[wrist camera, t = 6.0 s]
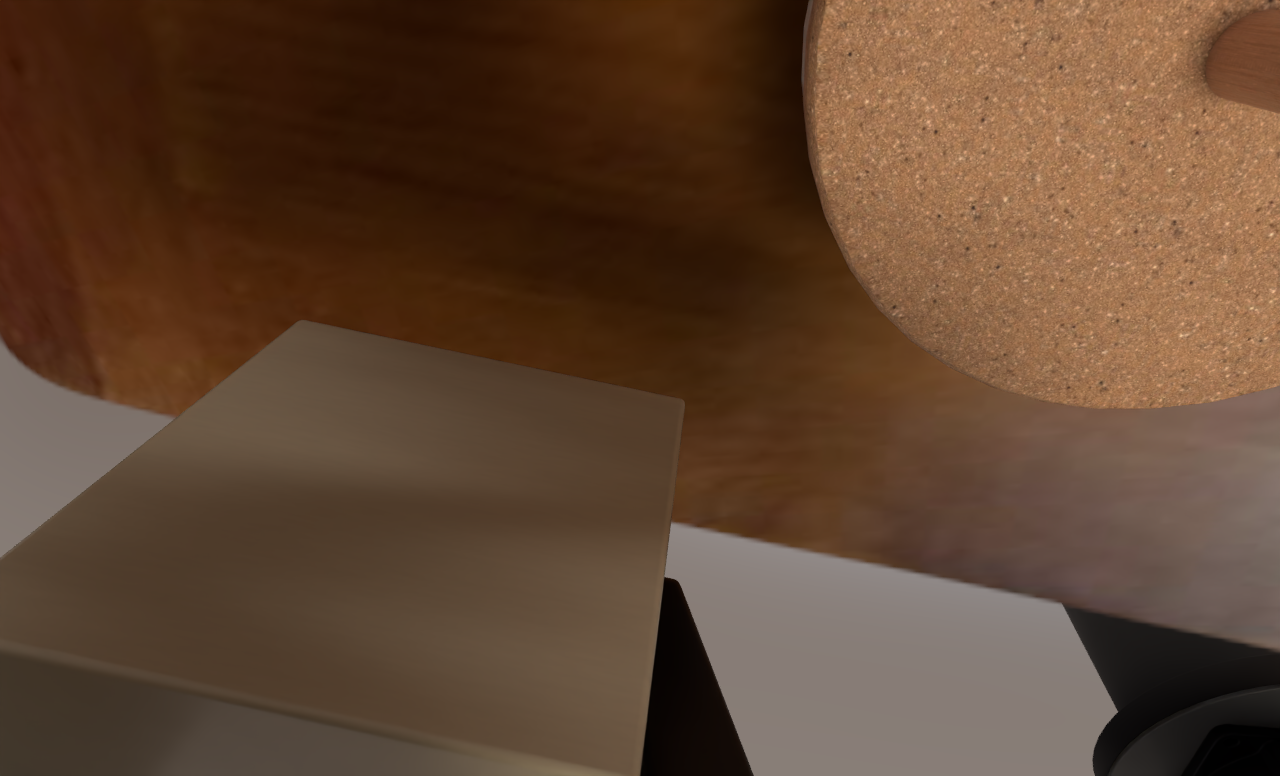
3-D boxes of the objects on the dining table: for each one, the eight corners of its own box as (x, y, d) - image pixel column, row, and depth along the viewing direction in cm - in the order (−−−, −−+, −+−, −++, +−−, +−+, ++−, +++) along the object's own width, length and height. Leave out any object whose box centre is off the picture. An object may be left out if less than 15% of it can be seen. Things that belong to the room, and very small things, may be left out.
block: (687, 396, 9) (640, 788, 5) (623, 656, 12) (557, 1060, 7) (299, 316, 9) (-97, 626, 5) (322, 591, 12) (80, 954, 7)
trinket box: (1187, 263, 18) (1559, 507, 10) (754, 241, 19) (772, 447, 11) (1439, -324, 12) (2741, -856, 4) (810, -316, 13) (932, -739, 5)
